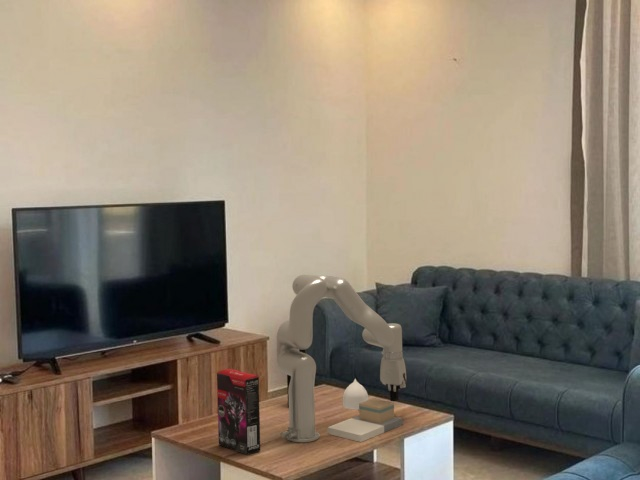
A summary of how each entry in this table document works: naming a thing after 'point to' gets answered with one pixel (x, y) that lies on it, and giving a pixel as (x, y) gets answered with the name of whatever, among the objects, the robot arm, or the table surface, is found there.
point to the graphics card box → (238, 411)
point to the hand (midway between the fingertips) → (394, 400)
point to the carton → (376, 410)
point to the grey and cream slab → (362, 428)
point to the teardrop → (354, 396)
